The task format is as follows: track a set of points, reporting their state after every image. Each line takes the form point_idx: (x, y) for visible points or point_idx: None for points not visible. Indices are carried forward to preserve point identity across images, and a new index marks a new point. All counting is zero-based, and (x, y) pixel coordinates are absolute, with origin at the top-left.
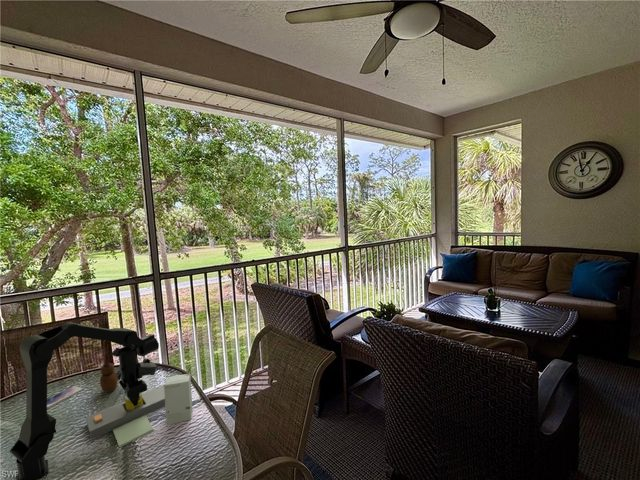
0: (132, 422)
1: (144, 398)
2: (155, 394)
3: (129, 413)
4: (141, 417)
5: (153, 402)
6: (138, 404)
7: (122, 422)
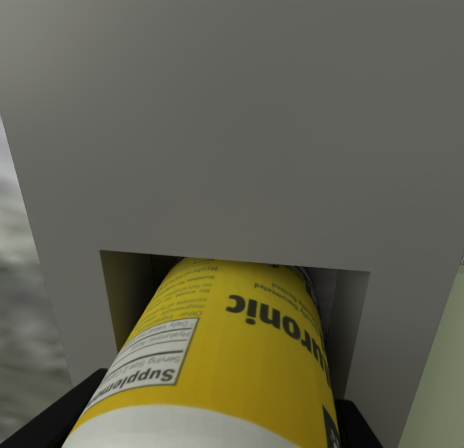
0: (435, 380)
1: (189, 242)
2: (205, 65)
3: (384, 444)
4: (445, 312)
5: (449, 181)
6: (325, 366)
7: None
